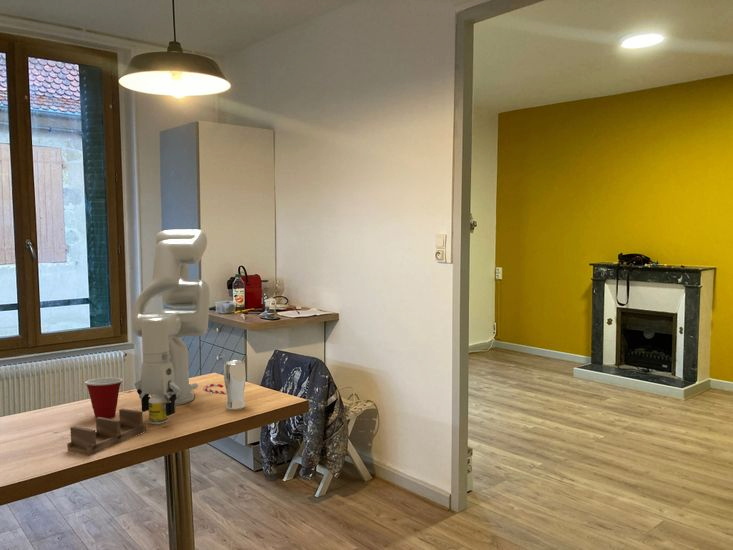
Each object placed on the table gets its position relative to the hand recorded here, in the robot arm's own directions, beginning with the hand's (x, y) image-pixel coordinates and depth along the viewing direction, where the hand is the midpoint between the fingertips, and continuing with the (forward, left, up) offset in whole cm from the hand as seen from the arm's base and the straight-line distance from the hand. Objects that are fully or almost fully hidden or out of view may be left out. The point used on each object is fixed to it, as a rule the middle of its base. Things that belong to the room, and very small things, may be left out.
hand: (158, 412), depth 181 cm
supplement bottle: (0, 0, -3) cm, 3 cm away
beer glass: (-21, +13, -3) cm, 25 cm away
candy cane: (-35, -5, -4) cm, 36 cm away
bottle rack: (+18, -1, -3) cm, 18 cm away
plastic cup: (+3, -19, -3) cm, 19 cm away
